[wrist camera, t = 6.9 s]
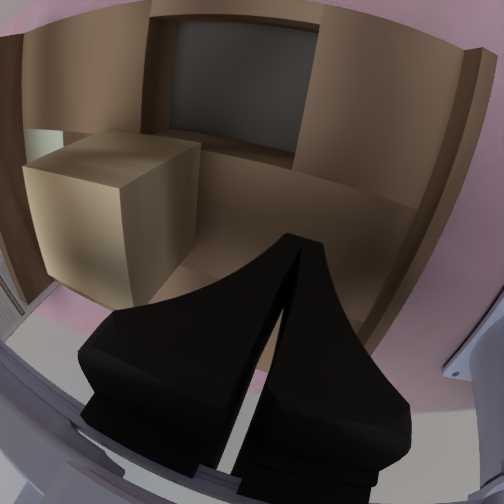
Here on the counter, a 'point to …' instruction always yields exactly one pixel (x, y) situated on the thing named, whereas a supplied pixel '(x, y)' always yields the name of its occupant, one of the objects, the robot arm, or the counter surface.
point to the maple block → (115, 213)
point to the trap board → (259, 134)
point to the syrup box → (15, 303)
